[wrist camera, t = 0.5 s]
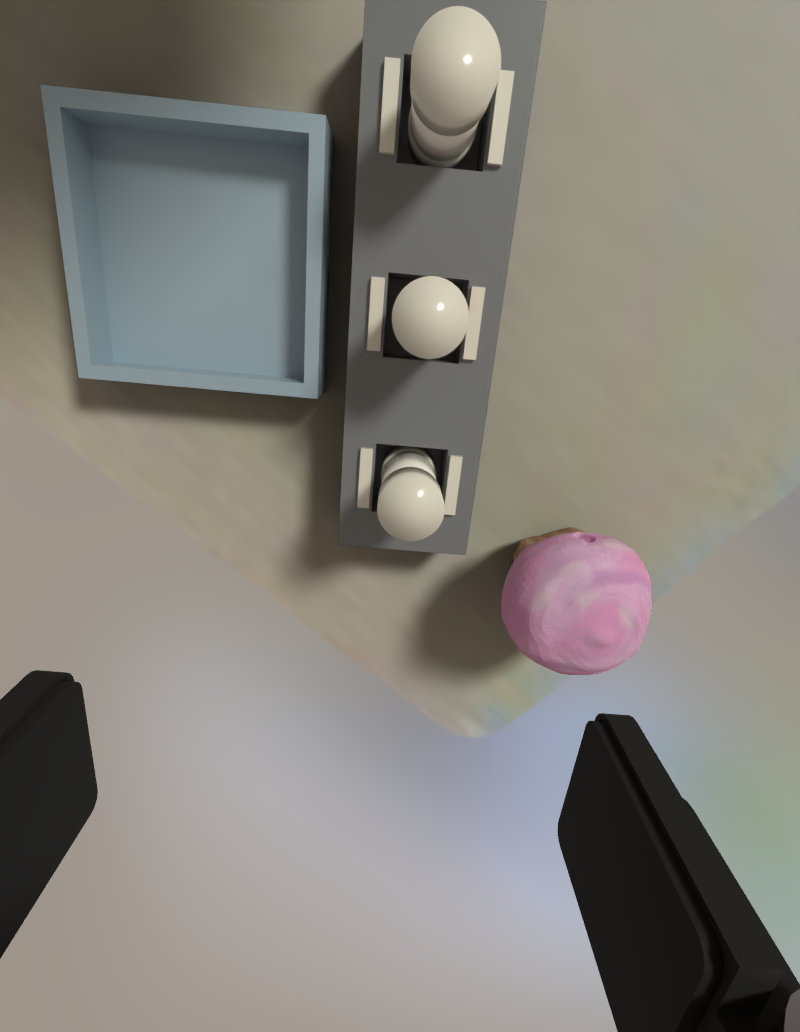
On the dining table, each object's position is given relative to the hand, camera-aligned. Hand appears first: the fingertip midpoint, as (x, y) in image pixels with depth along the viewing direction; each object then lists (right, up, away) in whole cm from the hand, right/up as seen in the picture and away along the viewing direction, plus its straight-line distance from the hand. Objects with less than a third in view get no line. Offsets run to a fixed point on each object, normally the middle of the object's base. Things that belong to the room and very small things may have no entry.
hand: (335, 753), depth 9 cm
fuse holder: (+3, +16, +21) cm, 27 cm away
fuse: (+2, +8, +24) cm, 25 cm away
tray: (-10, +19, +20) cm, 30 cm away
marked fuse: (+3, +16, +20) cm, 26 cm away
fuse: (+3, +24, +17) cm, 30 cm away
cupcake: (+12, +2, +27) cm, 30 cm away
